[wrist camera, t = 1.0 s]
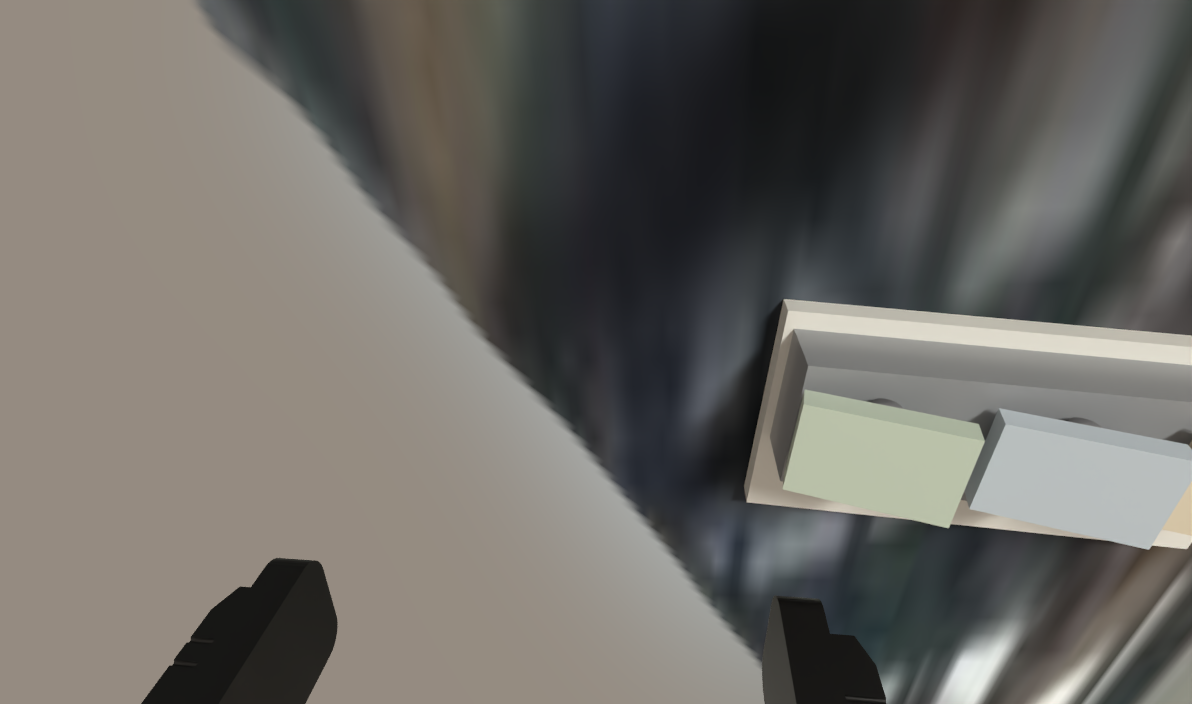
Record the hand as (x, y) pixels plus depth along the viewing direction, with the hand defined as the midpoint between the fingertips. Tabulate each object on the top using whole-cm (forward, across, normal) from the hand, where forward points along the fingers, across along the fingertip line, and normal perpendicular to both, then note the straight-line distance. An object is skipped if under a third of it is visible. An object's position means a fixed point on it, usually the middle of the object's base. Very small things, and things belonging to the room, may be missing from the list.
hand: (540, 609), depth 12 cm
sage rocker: (+20, -13, +10) cm, 26 cm away
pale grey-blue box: (+20, -22, +10) cm, 31 cm away
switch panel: (+26, -21, +12) cm, 35 cm away
